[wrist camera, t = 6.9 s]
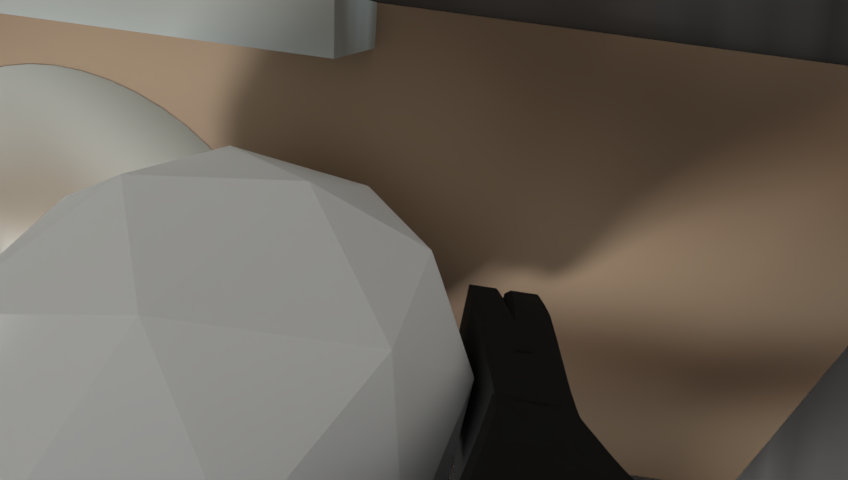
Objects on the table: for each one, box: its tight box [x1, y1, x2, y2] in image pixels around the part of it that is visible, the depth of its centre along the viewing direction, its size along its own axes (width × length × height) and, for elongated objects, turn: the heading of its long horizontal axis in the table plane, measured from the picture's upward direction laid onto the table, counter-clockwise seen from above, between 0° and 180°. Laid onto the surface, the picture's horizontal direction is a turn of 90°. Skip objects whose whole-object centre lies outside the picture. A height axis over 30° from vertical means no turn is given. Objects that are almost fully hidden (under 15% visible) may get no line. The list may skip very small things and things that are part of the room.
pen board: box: [0, 0, 848, 480], centre depth 10 cm, size 13×26×3 cm, turn 83°
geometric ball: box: [0, 146, 474, 480], centre depth 7 cm, size 8×8×8 cm
